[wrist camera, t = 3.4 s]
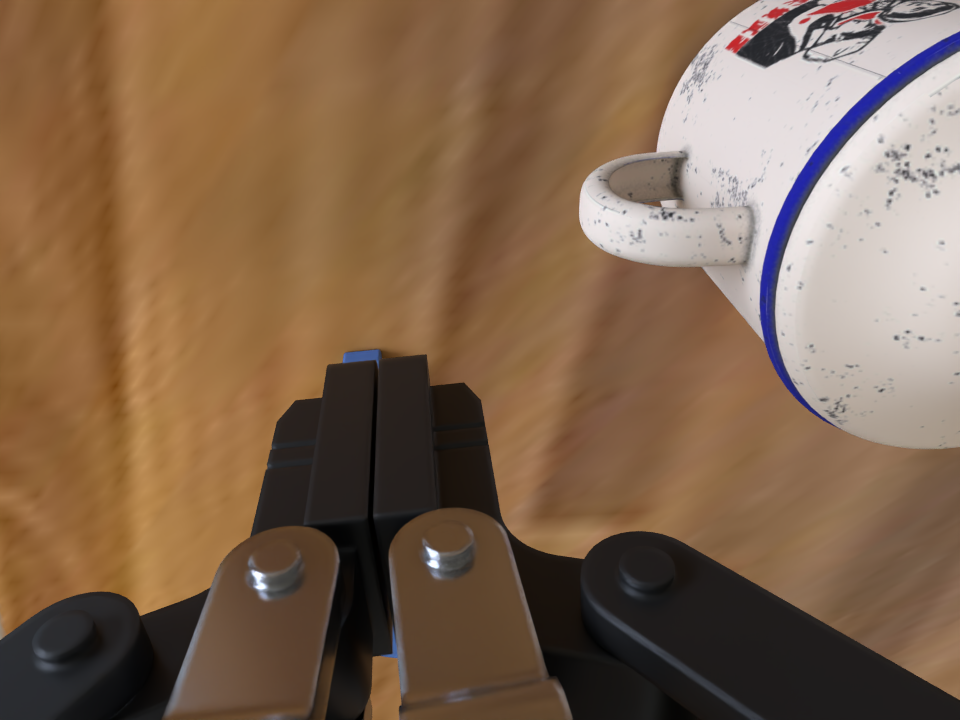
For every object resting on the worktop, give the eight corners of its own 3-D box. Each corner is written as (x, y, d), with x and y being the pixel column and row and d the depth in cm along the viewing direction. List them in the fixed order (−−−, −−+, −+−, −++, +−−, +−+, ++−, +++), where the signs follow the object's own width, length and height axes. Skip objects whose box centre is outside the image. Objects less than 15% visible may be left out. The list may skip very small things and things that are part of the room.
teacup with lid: (997, -38, 20) (1575, 20, 10) (902, 275, 25) (1238, 523, 15) (550, -29, 19) (711, 44, 9) (539, 294, 24) (639, 570, 14)
